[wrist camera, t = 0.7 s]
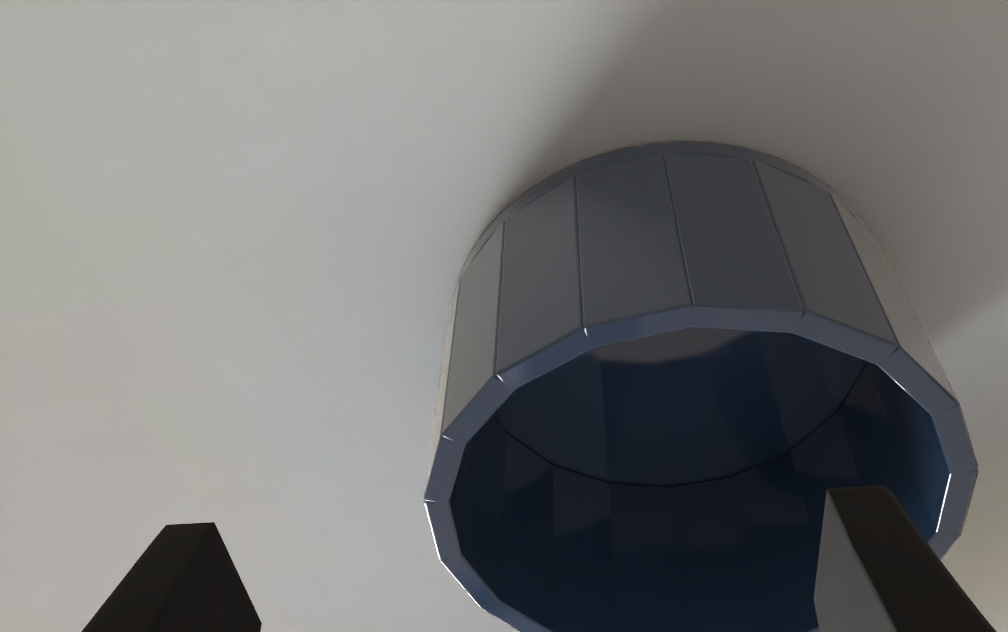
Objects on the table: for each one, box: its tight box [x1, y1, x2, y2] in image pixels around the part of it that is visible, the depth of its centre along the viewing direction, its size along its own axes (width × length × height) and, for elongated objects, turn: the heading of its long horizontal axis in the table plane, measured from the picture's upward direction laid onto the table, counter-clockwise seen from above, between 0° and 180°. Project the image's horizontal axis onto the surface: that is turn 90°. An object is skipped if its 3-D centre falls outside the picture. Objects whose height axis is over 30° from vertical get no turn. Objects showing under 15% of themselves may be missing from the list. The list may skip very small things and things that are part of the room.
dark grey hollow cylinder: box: [424, 142, 978, 632], centre depth 20 cm, size 10×10×6 cm
